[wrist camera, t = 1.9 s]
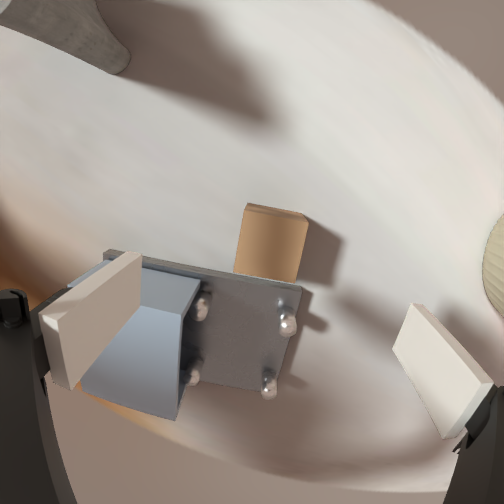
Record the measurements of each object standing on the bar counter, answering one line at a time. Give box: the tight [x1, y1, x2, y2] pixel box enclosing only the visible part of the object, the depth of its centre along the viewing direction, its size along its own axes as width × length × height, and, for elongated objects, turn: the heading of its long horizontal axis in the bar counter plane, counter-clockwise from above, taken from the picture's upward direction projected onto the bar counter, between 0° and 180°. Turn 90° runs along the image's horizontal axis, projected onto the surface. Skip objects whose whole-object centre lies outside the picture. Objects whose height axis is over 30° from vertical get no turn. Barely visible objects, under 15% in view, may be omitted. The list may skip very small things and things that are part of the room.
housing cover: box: [68, 260, 201, 421], centre depth 26 cm, size 10×12×7 cm
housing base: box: [103, 249, 302, 400], centre depth 29 cm, size 20×13×4 cm, turn 80°
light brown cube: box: [233, 203, 309, 283], centre depth 26 cm, size 5×5×5 cm
